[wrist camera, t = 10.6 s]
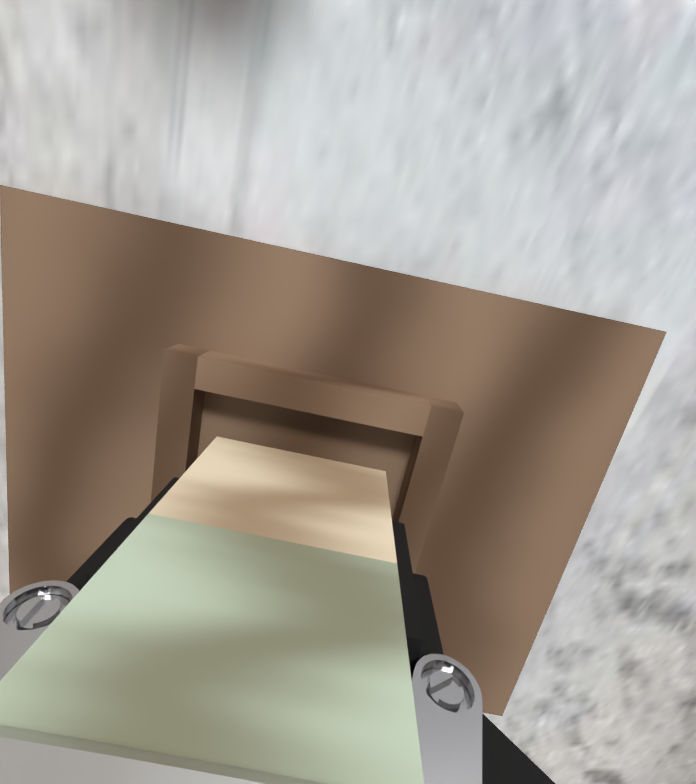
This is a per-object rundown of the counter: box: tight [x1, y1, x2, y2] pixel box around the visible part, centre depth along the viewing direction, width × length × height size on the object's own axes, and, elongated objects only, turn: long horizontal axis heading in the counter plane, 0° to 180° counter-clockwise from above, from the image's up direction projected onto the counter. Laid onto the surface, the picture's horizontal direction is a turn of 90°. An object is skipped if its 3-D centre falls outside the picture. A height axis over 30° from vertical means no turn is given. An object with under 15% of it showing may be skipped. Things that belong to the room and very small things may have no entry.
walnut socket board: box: [0, 185, 666, 716], centre depth 14 cm, size 20×16×2 cm
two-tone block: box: [0, 437, 424, 784], centre depth 9 cm, size 5×5×8 cm
